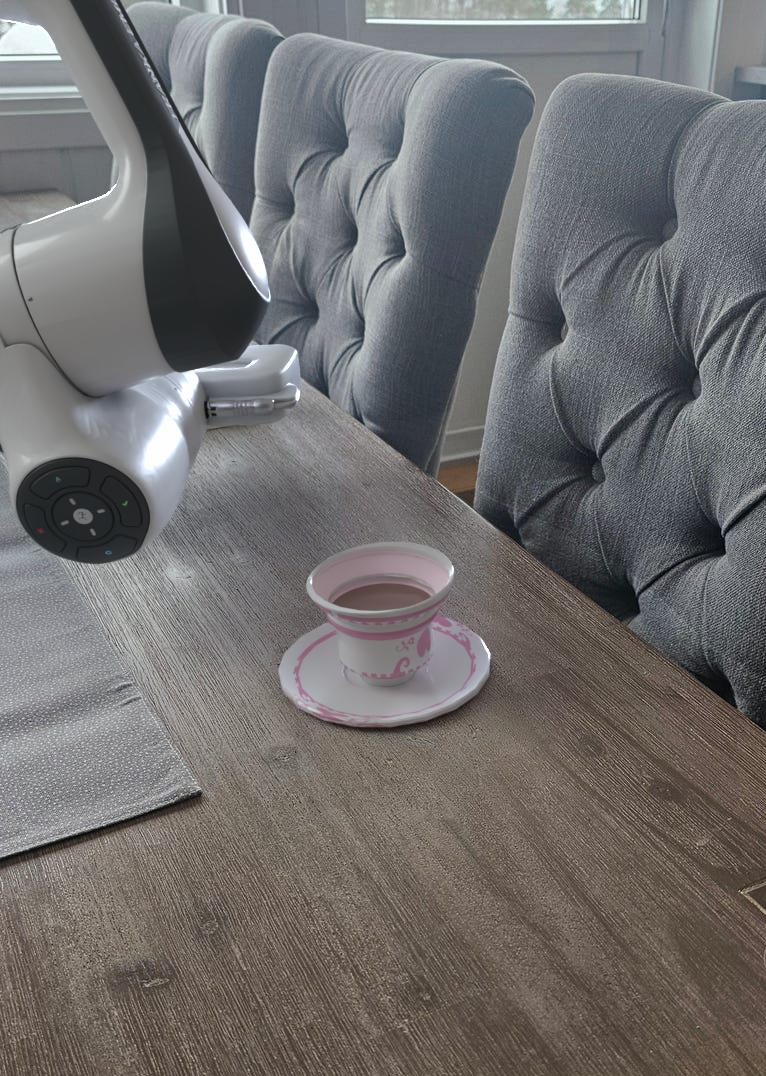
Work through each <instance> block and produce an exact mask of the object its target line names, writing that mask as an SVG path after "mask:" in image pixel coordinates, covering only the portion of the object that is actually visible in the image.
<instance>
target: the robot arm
mask: <svg viewBox="0 0 766 1076" xmlns="http://www.w3.org/2000/svg"><path fill="white" fill-rule="evenodd" d="M0 21H2V22H3V21H4V22H11V23H16V24H21V25H25V26H29V27H32V28H35V29H36V30H37V29H38V30H40V31H42V32H44V33H45V34H46V35H47V36H48V38H49V40H50V42H51V44H52V45H53V46H54V49H55V50H56V52H57V53H58V56H59V57H60V60H61V61H62V63H63V65H64V67H65V69H66V70H67V72H68V74H69V76H70V78H71V80H72V81H73V84H74V85H75V87H76V89H77V91H78V93H79V95H80V97H81V98H82V100H83V102H84V104H85V105H86V107H87V109H88V111H89V113H90V115H91V117H92V119H93V121H94V122H95V125H96V127H97V128H98V130H99V132H100V134H101V135H102V138H103V139H104V141H105V143H106V145H107V147H108V148H109V150H110V152H111V155H112V156H113V158H114V160H115V161H116V164H117V166H118V177H117V181H116V184H115V185H114V186H113V187H112V188H111V190H110V191H108V192H107V193H106V194H103V195H102V196H99V197H97V198H93V199H91V200H89V201H85V202H82V203H80V204H78V205H75V206H72V207H68V208H66V209H64V210H60V211H57V212H56V213H52V214H50V215H47V216H44V217H42V218H39V219H36V220H33V221H30V222H27V223H23V222H22V223H19V224H16V225H13V226H11V227H8V228H5V229H2V230H0V453H2V454H3V455H4V459H5V463H6V468H7V479H8V481H7V482H8V493H9V500H10V504H11V509H12V511H13V513H14V515H15V518H16V520H17V522H18V523H19V525H20V526H21V529H22V530H23V531H24V533H25V534H26V535H27V536H28V538H30V540H31V541H33V542H34V543H35V544H36V545H38V547H40V548H41V549H43V550H44V551H46V552H48V553H50V554H52V555H54V556H56V557H59V558H61V559H64V560H67V561H71V562H76V563H81V564H88V565H103V564H110V563H115V562H120V561H123V560H126V559H129V558H130V557H133V556H135V555H136V554H138V553H140V552H141V551H143V550H144V549H145V548H147V547H148V546H149V545H150V544H152V542H153V541H155V539H156V538H158V536H159V535H160V534H161V533H162V531H164V529H165V528H166V527H167V525H168V523H169V522H170V520H171V519H172V517H173V515H174V513H175V511H176V509H177V507H178V506H179V503H180V501H181V499H182V496H183V495H184V492H185V489H186V487H187V483H188V479H189V475H190V471H191V470H192V467H193V466H194V464H195V462H196V460H197V458H198V455H199V451H200V449H201V447H202V444H203V442H204V439H205V436H206V433H207V431H208V430H207V427H208V426H228V427H234V426H257V425H258V426H259V425H267V424H272V423H276V422H278V421H281V420H283V419H285V418H286V417H287V416H288V415H289V414H290V413H291V411H292V410H293V409H295V408H296V407H297V406H298V404H299V400H300V396H301V394H302V378H301V367H300V366H301V365H300V359H299V352H298V350H297V349H296V348H294V347H293V346H290V345H287V344H281V343H277V344H253V345H252V344H251V343H252V341H253V339H254V338H255V336H256V335H257V333H258V331H259V329H260V327H261V326H262V323H263V321H264V319H265V316H266V314H267V311H268V309H269V306H270V303H271V299H272V297H271V295H272V294H271V291H270V287H269V280H268V272H267V269H266V265H265V262H264V259H263V255H262V253H261V251H260V248H259V246H258V243H257V242H256V239H255V237H254V235H253V233H252V231H251V230H250V228H249V226H248V224H247V223H246V220H245V219H244V218H243V217H242V215H241V213H240V212H239V210H238V209H237V208H236V206H235V205H234V204H233V203H234V202H232V200H231V199H230V198H229V197H228V195H227V194H226V192H225V191H224V190H223V188H222V187H221V185H220V184H219V182H218V181H217V178H216V177H215V176H214V174H213V172H212V170H211V169H210V167H209V164H208V163H207V161H206V159H205V158H204V156H203V154H202V153H201V151H200V149H199V146H198V145H197V143H196V141H195V139H194V137H193V135H192V133H191V131H190V130H189V128H188V126H187V124H186V122H185V120H184V118H183V116H182V114H181V112H180V111H179V109H178V107H177V105H176V103H175V101H174V99H173V96H171V94H170V92H169V90H168V88H167V86H166V84H165V82H164V80H163V78H162V77H161V74H160V73H159V71H158V69H157V67H156V65H155V63H154V61H153V60H152V57H151V56H150V54H149V52H148V50H147V48H146V46H145V44H144V42H143V40H142V39H141V36H140V34H139V33H138V31H137V29H136V27H135V25H134V24H133V21H132V20H131V18H130V15H129V14H128V12H127V10H126V9H125V7H124V5H123V3H122V1H121V0H0ZM250 344H251V345H250Z"/></svg>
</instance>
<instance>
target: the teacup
mask: <svg viewBox="0 0 766 1076" xmlns="http://www.w3.org/2000/svg"><path fill="white" fill-rule="evenodd" d="M454 575H455V567H454V565H453V563H452V562H451V560H450V559H449V557H447V555H445V554H444V553H443V552H442V551H440V550H438V549H436V548H435V547H431V546H429V545H426V544H421V543H418V542H417V543H416V542H410V541H379V542H372V543H371V542H370V543H365V544H362V545H358V546H354V547H351V548H347V549H344V550H342V551H339V552H337V553H335V554H333V555H331V556H329V557H328V558H326V559H325V560H323V561H322V562H320V563H319V564H317V566H316V567H315V568H314V569H313V570H312V571H311V572H310V573H309V575H308V577H307V580H306V585H305V586H306V587H305V588H306V592H307V595H308V596H309V598H311V599H312V601H313V603H315V605H316V606H317V607H318V608H319V609H320V610H321V611H323V612H324V615H325V619H327V622H325V623H322V624H319V626H317V627H315V628H313V629H311V630H310V631H308V632H306V633H304V634H303V635H301V636H299V637H298V638H297V639H296V641H294V642H293V643H292V644H291V646H289V648H288V649H286V650H285V651H284V653H283V655H282V658H281V661H280V663H279V667H278V670H277V673H278V679H279V682H280V686H281V690H282V693H283V694H284V695H285V696H286V697H287V698H288V700H290V702H292V704H293V705H294V706H295V707H296V708H297V709H298V710H300V711H303V712H305V713H307V714H309V715H311V716H314V717H316V718H317V719H320V720H321V721H324V722H330V723H334V724H339V725H344V726H347V727H354V728H396V727H400V726H406V725H411V724H412V725H413V724H418V723H424V722H428V721H430V720H433V719H435V718H438V717H440V716H442V715H445V714H448V713H451V712H453V711H455V710H457V709H458V708H460V707H461V706H463V705H464V704H466V703H467V702H469V701H470V700H471V699H473V698H474V697H475V696H478V695H479V693H480V691H481V689H482V688H483V686H484V685H485V683H486V682H487V680H489V678H490V669H491V652H490V651H489V649H488V648H487V645H486V643H485V642H484V640H483V638H482V637H481V636H479V635H478V634H477V633H475V632H474V631H473V630H471V629H470V628H468V627H467V626H466V625H465V624H463V623H460V622H457V621H455V620H453V619H450V618H447V617H444V616H442V615H439V612H440V607H441V604H443V602H445V600H446V599H447V597H448V596H449V594H450V593H451V590H452V588H453V582H454Z"/></svg>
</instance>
